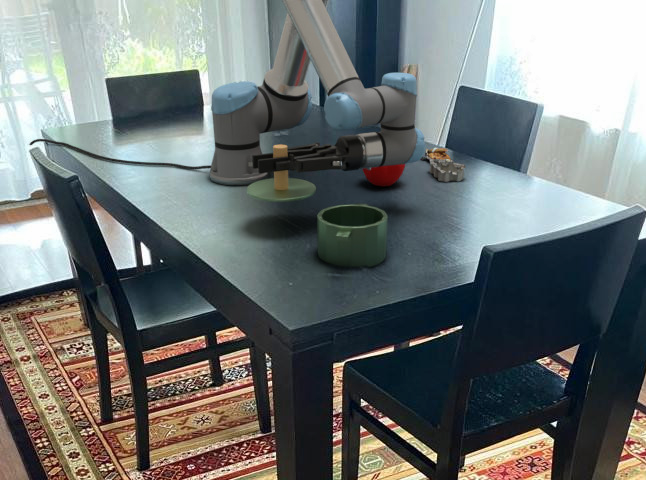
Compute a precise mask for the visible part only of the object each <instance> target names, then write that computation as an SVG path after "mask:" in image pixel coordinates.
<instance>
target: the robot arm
mask: <svg viewBox="0 0 646 480" xmlns="http://www.w3.org/2000/svg"><path fill="white" fill-rule="evenodd" d="M281 2H282V4H283V5H284V8H285V10H286V12H287V13H286V17H285V20H284V25H283V29H282V33H281V36H280V40H279V43H278V47H277V51H276V55H275V59H274V63H273V67H272V68H270V69H269V70H267V71H266V72H265V73H264V77H263V81H262V84H261V85H257V84H256V83H255V82H252V81H239V82H236V81H233V82H230V83H226V84H222V85H220V86H218V87H216V88H215V89H214V91H212V94H211V107H210V108H211V109H210V110H211V115H212V125H213V138H214V139H213V140H214V152H213V155H212V161H211V165H200V166H190V165H185V164H179V163H174V162H173V163H171V162H155V161H154V162H152V161H151V162H148V161H135V160H134V161H133V160H125V159H117V158H112V157H107V156H103V155H99V154H96V153H94V152H90V151H87V150H85V149H82V148H80V147H77V146H75V145H71V144H70V143H68V142H67V143H66V142H62V141H56V140H53V139H52V140H51V139H47V138H37V139H33V140H32V141H31V142H29V144H28V145H29V146H33V145H34V144H36V143H39V142H41V143H42V142H43V143H50V144H54V145H58V146H59V145H60V146H65V147H68V148H70V149H73V150H74V151H78V152H80V153H83V154H86V155H88V156H91V157H93V158H97V159H100V160H105V161H108V162H109V161H110V162H113V163H120V164H128V165H129V164H130V165H139V166H140V165H141V166H143V165H144V166H161V167H162V166H163V167H175V168H180V169H185V170H202V169H204V170H205V169H209V178H210V180H211V181H212V182H214V183H215V184H219V185H225V186H249V185H250V184H252V183H254V182H257V181H260V180H265V179H269V173H274V172H276V171H284V170H288V171H289V170H290V171H295V172H296V173H299V174H300V173H308V172H320V171H327V170H328V171H329V170H338V171H339V170H340V171H343V172H351V171H358V170H363V169H366V168H367V170H371V168H373V167H381V166H390V165H399V164H401V165H403V164H405V165H406V164H412V163H415V162H418V161H420V160H422V159H421V158H422V157H423V158H424V156H425V151H426V141H425V135H424V133H423V131H422V130H421V129H419V128H417V127H416V126H415V124H416V123H415V122H416V108H417V96H418V93H417V92H418V91H417V90H418V85H417V78H416V76H415V75H413V74H411V73H407V72H388V73H385V74H383V76H382V78H381V83H380V85H379V86H372V87H368V88H365V87H364V84H363V83H362V81H361V78H360V77H359V75H358V73H357V71H356V69H355V66H354V65H353V63H352V60H351V58H350V56H349V54H348V52H347V50H346V48H345V46H344V44H343V42H342V40H341V37H340V36H339V33H338V31H337V29H336V27H335V25H334V23H333V20H332V19H331V16H330V15H329V12H328V10H327V9H328V5H329V2H330V0H281ZM311 64H312V66H313V68H314V70H315V72H316V75H317V76H318V79H319V80H320V83H321V85H322V87H323V89H324V91H325V93H326V95H327V98H326V99H325V101H324V105H323V106H324V107H323V112H324V113H325V115H324V118H325V121H326V123H327V125H328V126H329V127H330V128H331V129H332V130H335V131H340V132H341V131H352V130H353V131H354V130H357V129H359V128H363V127H367V126H372V125H373V126H374V125H380V131H376V132H375V131H374V132H364V133H363V132H362V133H358V134H348V135H341V136H339V137H338V138H337V139H336V143H335V144H334V145H332V144H331V143H326V144H322V145H321V143H320V142H314V143H310V144H304V145H296V146H288V147H287V151H288V156H285V157H277V158H273V152H268V153H267V152H266V153H263V152H262V149H261V140H260V139H261V138H260V137H261V136H260V135H261V134H266V133H272V132H277V131H283V130H290V129H294V128H295V127H299V126H302V125H304V124H305V123H306V122H307V121H308V119H309V118H310V116H311V113H312V109H313V102H312V98H313V96H312V92H311V89H310V88H309V87H310V86H309V83H308V81H307V80H306V77H307V74H308V71H309V68H310V65H311Z"/></svg>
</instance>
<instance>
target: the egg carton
mask: <svg viewBox="0 0 646 480" xmlns="http://www.w3.org/2000/svg"><path fill="white" fill-rule="evenodd" d="M466 168H467V167H466V165H465V164H464V163H462V164H460V163H458V162H454V160H453V159H451V160H450V161H447V160H446V159H445V160H442V159H436V160H435V159H429V173H430V174H431V175H432V174H433V177H434V178H437V180H438V182H444V183H449V182H450V181H456V182H461V181H462V180H464V176H465V171H464V169H466Z"/></svg>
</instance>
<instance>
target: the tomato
mask: <svg viewBox="0 0 646 480" xmlns="http://www.w3.org/2000/svg"><path fill="white" fill-rule="evenodd" d="M405 167H406V164H403V165H401V164H399V165H390V166H381V167H373V168H371V170H367V168H366V169H362V172H363V174H364V176H365V178H366V179H367V181H368V182H369V183H371V184H372V185H374V186H377V187H390V186H392V185H394V184H395V183H396V182H397V181H398V180H399V179H400V178H401V177H402V175H403V173H404V170H405Z"/></svg>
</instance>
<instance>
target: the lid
mask: <svg viewBox="0 0 646 480" xmlns="http://www.w3.org/2000/svg"><path fill="white" fill-rule="evenodd" d="M287 148H288V145H286V144H274V145H272V153H273V158H277V157H285V156H288V151H287ZM316 192H317V187H316V185H315V184H314V183H312V182H310V181H309V180H304V179H302V178H301V179H300V178H295V177H294V178H293V177H289V170H284V171H276V172H273V177H272V178H267V179H265V180H260V181H257V182H254V183H252V184H249V185H247V187H246V193H247V195H248V196H250V197H251V198H252V199H255V200H259V201H262V202H263V201H264V202H270V203H290V202H297V201H302V200H305V199H308V198H310V197H312V196H314V195H315V194H316Z"/></svg>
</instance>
